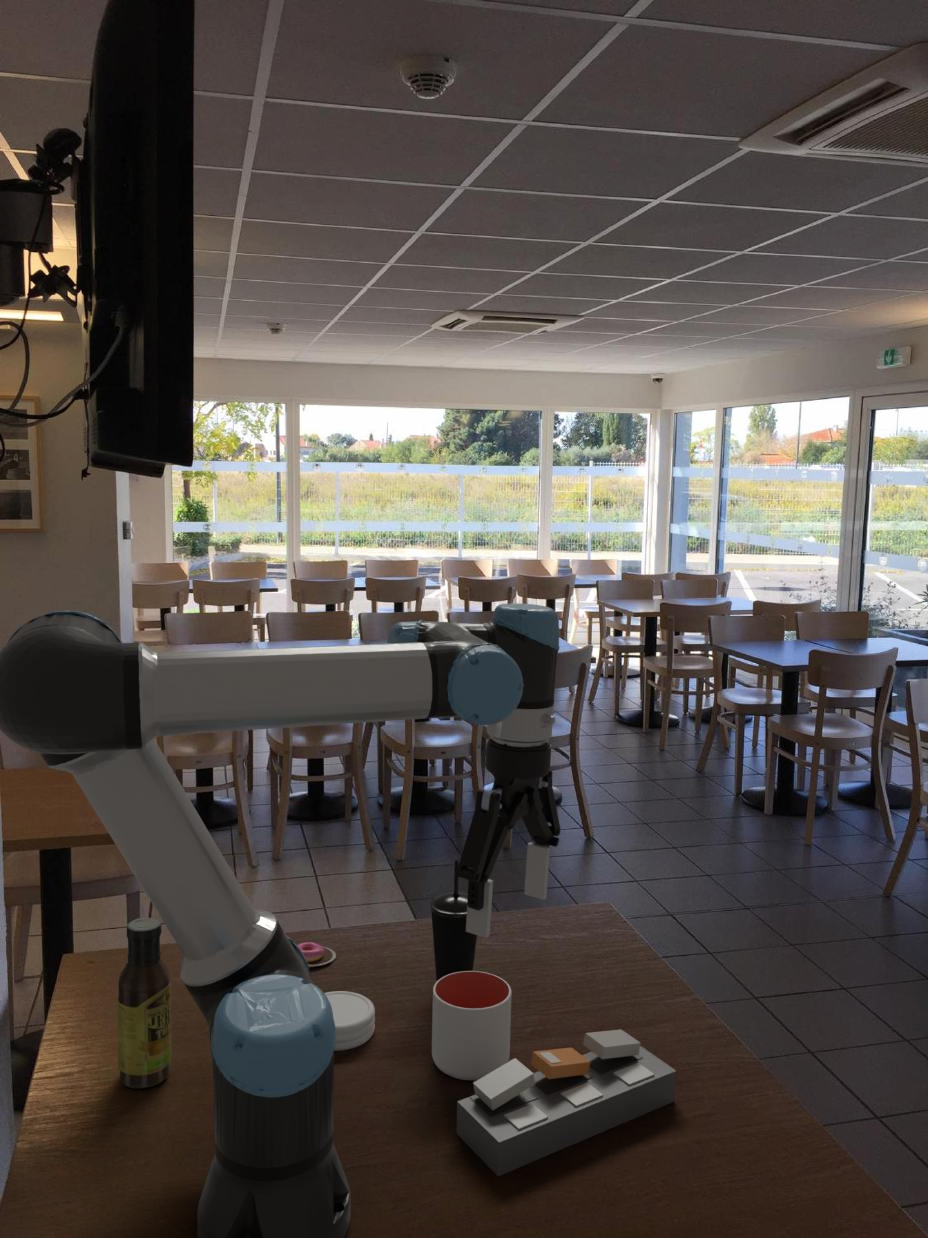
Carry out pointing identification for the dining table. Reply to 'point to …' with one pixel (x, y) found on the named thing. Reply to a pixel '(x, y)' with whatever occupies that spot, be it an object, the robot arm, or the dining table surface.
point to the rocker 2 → (560, 1063)
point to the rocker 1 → (504, 1084)
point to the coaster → (351, 1019)
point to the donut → (314, 953)
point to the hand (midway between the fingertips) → (507, 914)
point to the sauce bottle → (144, 1009)
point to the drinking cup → (452, 932)
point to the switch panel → (564, 1109)
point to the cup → (471, 1024)
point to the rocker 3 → (611, 1044)
